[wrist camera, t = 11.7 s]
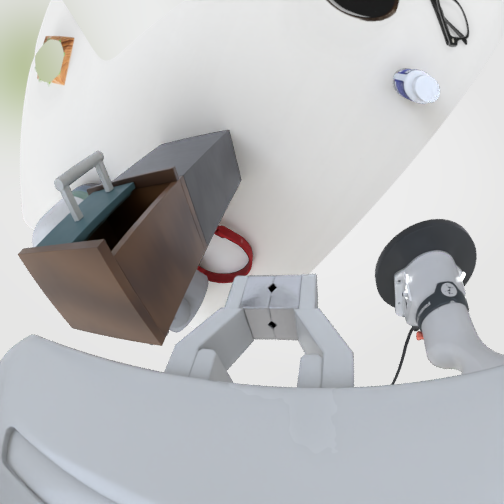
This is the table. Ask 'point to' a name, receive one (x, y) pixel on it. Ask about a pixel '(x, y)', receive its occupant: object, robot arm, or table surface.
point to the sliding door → (85, 203)
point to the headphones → (238, 240)
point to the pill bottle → (416, 86)
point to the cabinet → (143, 242)
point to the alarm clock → (190, 302)
